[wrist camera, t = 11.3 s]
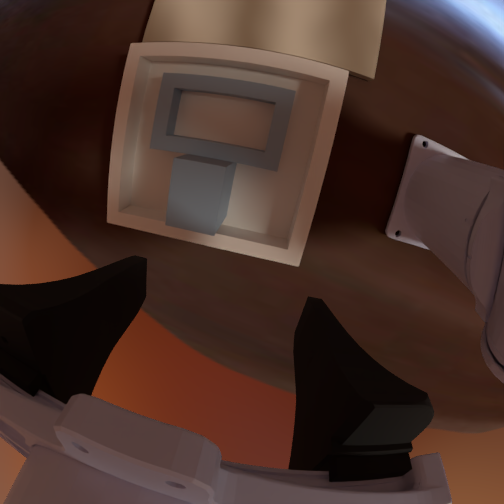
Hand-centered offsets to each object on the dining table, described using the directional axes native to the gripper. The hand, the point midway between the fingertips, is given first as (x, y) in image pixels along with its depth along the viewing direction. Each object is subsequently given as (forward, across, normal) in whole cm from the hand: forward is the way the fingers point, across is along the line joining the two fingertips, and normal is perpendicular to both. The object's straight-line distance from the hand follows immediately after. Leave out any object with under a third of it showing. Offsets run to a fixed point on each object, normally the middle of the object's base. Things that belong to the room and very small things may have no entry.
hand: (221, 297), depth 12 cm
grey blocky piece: (+9, +3, -5) cm, 11 cm away
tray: (+9, +3, -6) cm, 11 cm away
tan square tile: (+9, +2, -20) cm, 22 cm away
